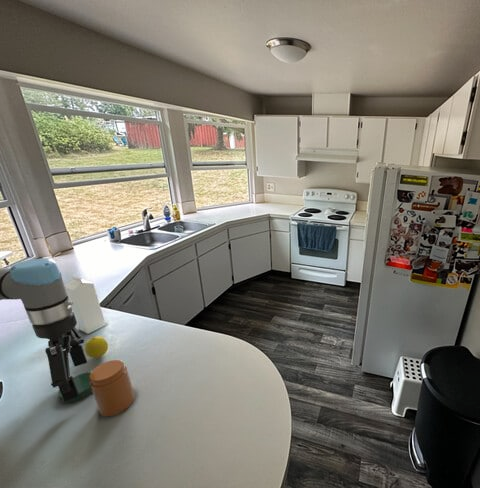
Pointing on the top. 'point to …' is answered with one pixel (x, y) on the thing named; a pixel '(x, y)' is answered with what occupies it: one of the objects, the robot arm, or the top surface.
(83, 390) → the jar lid
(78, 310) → the milk
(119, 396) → the jam jar
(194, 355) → the top surface
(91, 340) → the lemon
